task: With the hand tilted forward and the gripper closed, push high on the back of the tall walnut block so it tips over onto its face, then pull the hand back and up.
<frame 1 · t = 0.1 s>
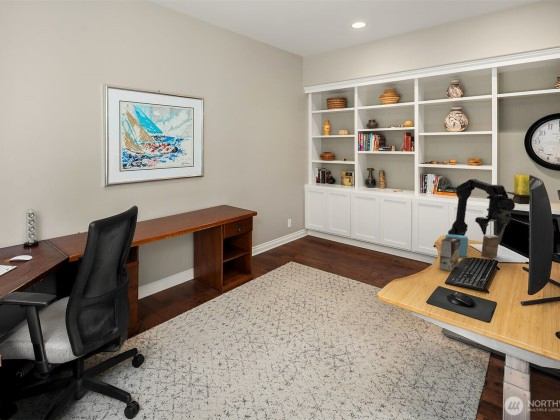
hand: (491, 234, 194), 15 cm above the table, tool pointing down, fingers open, 9 cm apart
walnut block: (489, 255, 201), on the table
coffee box: (448, 267, 185), on the table
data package: (454, 255, 204), on the table
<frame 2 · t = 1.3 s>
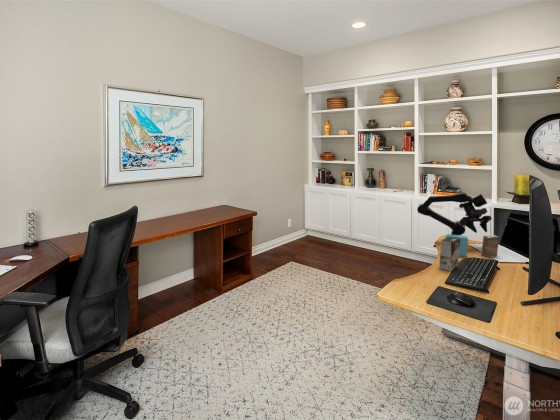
hand: (481, 232, 206), 13 cm above the table, tool tilted 45°, fingers open, 7 cm apart
nothing on the table moved.
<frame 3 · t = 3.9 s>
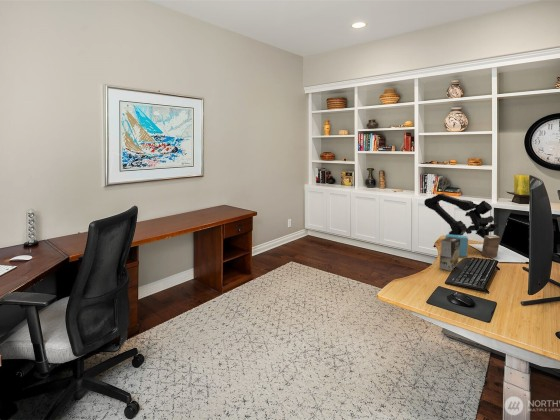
hand: (488, 240, 201), 9 cm above the table, tool tilted 45°, fingers closed
nothing on the table moved.
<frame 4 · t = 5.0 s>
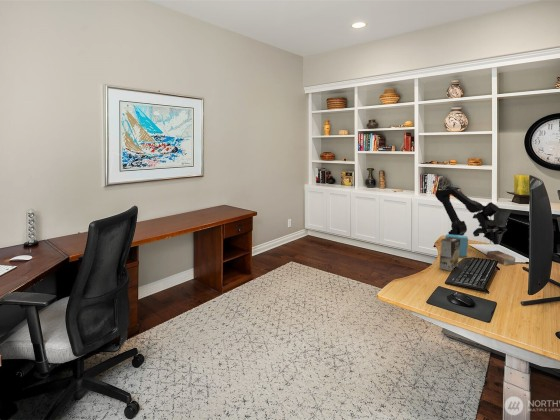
hand: (496, 244, 195), 9 cm above the table, tool tilted 45°, fingers closed
walnut block: (492, 254, 199), point 2 cm above the table, tilted 90°
everything else where it was.
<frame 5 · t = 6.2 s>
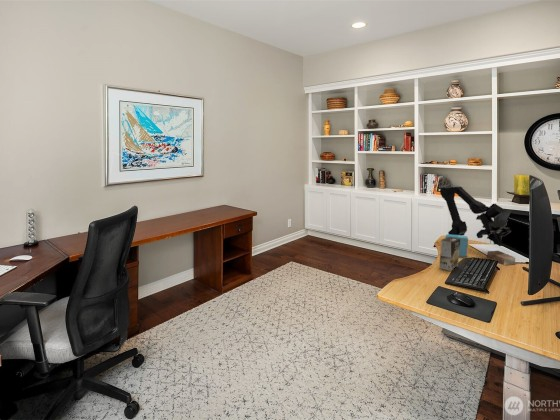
hand: (500, 245, 193), 9 cm above the table, tool tilted 45°, fingers closed
nothing on the table moved.
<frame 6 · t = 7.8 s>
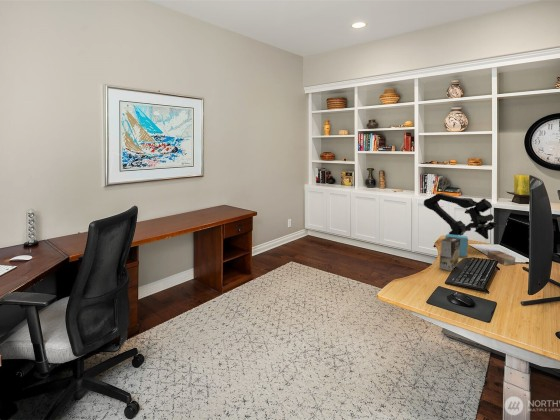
hand: (487, 238, 202), 10 cm above the table, tool tilted 45°, fingers closed
nothing on the table moved.
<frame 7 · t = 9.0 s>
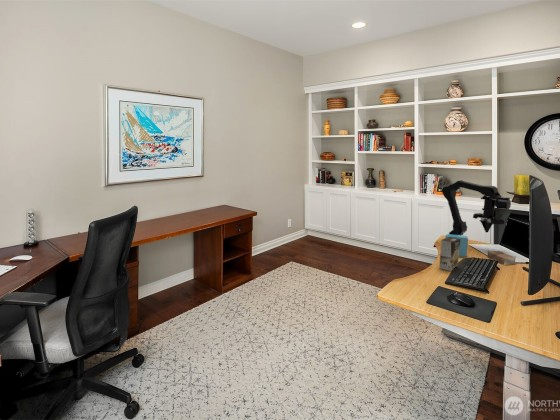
hand: (486, 232, 207), 12 cm above the table, tool pointing down, fingers closed
nothing on the table moved.
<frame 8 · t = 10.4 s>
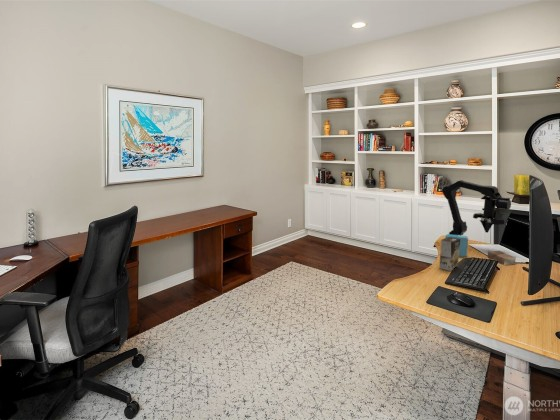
hand: (486, 232, 207), 12 cm above the table, tool pointing down, fingers closed
nothing on the table moved.
at the end: walnut block tilted 90°; walnut block inside the target area (6.2 cm from its centre), point 1.8 cm above the table; the gripper is holding nothing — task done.
